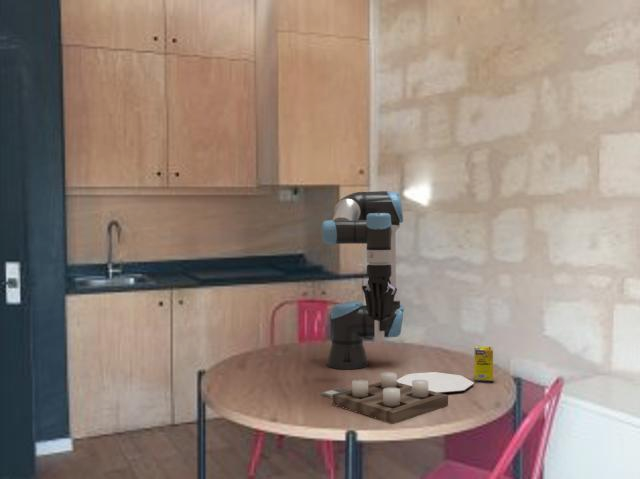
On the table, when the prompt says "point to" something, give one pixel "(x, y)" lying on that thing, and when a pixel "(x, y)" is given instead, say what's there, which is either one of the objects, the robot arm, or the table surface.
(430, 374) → the plate
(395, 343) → the table surface
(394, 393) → the button
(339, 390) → the card
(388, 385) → the button
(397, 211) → the robot arm
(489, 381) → the supplement box
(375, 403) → the board
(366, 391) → the button
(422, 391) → the button
